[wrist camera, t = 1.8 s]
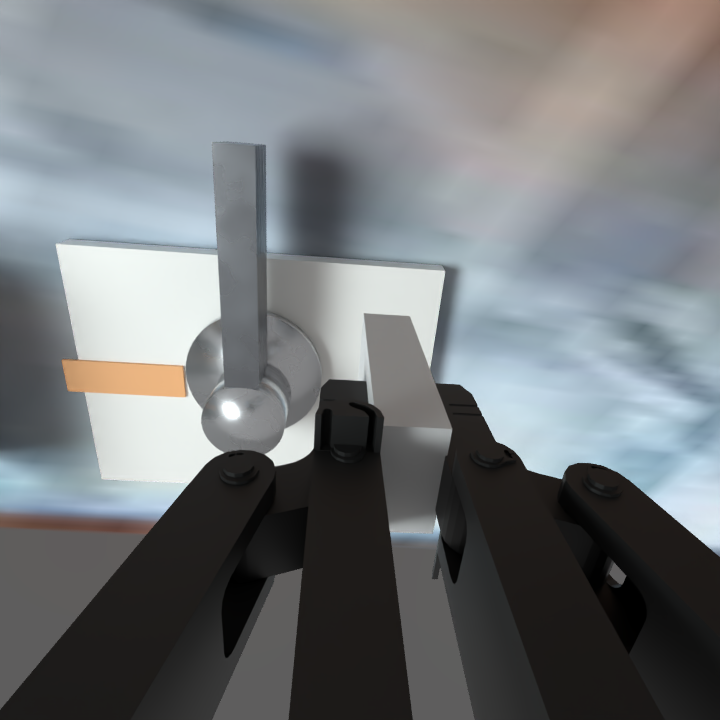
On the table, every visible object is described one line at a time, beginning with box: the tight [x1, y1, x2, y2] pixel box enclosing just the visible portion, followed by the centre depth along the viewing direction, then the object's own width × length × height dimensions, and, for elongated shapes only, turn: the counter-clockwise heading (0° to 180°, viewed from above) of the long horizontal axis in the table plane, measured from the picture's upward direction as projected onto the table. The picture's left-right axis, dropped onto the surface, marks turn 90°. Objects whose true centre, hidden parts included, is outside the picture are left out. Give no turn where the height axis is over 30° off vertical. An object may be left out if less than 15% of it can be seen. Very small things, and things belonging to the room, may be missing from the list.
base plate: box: [56, 239, 445, 483], centre depth 34 cm, size 25×18×2 cm
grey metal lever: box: [186, 142, 322, 454], centre depth 28 cm, size 19×9×5 cm, turn 176°
